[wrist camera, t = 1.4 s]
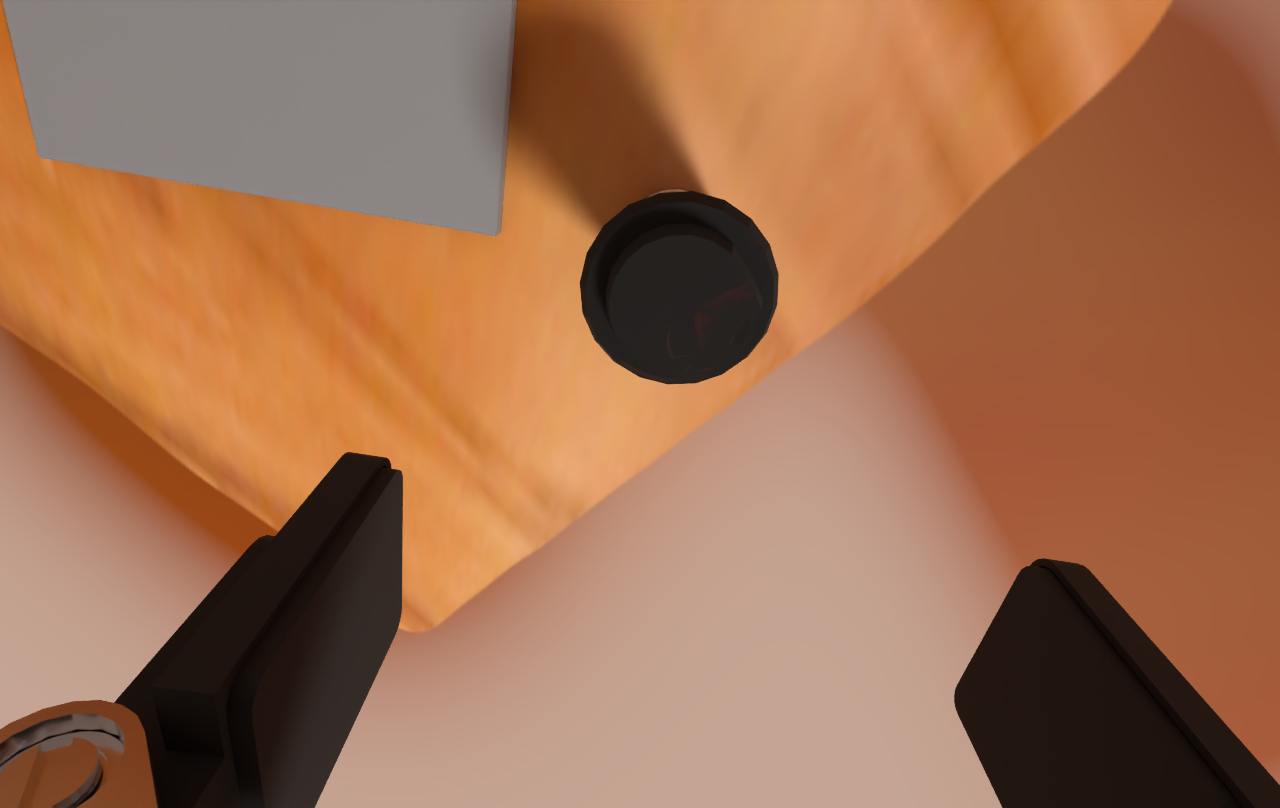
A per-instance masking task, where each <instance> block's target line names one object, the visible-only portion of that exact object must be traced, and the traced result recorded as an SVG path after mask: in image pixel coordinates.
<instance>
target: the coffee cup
mask: <svg viewBox="0 0 1280 808" xmlns="http://www.w3.org/2000/svg"><path fill="white" fill-rule="evenodd" d="M778 275H779V274H778V271H777V267H776V264H775V261H774V257H773V254H772V250H771V247H770V244H769V243H768V241H767V240H766V239H765V237H764V236H763V234H762V233H761V232H760V230H759V229H758V227H757V226H756V225H755V223H754V222H753V220H752V219H751V218H749V217H748V216H747V215H745V214H744V213H742V212H741V211H739V210H738V209H737V208H735V207H734V206H732V205H731V204H730V203H728V202H727V201H725V200H722V199H719V198H715V197H712V196H708V195H705V194H701V193H698V192H694V191H685V190H682V189H670V190H662V191H660V192H657V193H655V194H652V195H650V196H648V197H647V198H645V199H643V200H640V201H637V202H635V203H632V204H630V205H628V206H627V207H626V208H624V209H623V210H622V211H621V212H620V213H618V214H617V215H616V216H615V217H614V218H612V219H611V220H610V221H609V222H608V223H606V224H605V225H604V226H603V228H602V229H601V231H600V233H599V234H598V236H597V237H596V239H595V241H594V242H593V244H592V246H591V247H590V249H589V250H588V252H587V255H586V259H585V263H584V268H583V272H582V276H581V280H580V289H581V300H582V311H583V315H584V317H585V319H586V321H587V324H588V326H589V328H590V331H591V333H592V335H593V337H594V340H595V341H596V342H597V343H598V344H599V345H600V346H601V348H602V349H603V350H604V351H605V352H606V353H607V354H608V355H609V357H610V358H611V359H612V360H613V361H614V362H616V363H617V364H619V365H621V366H622V367H624V368H626V369H627V370H629V371H630V372H632V373H634V374H635V375H637V376H639V377H641V378H645V379H649V380H653V381H657V382H661V383H665V384H687V383H698V382H701V381H704V380H707V379H710V378H713V377H716V376H719V375H722V374H723V373H725V372H726V371H728V370H729V369H731V368H732V367H733V366H735V365H736V364H738V363H739V362H741V361H742V360H743V359H745V358H746V357H748V356H749V354H750V353H751V352H752V351H753V349H754V348H755V347H756V346H757V344H758V343H759V342H760V340H761V339H762V338H763V337H764V335H765V334H766V333H767V330H768V328H769V325H770V322H771V320H772V317H773V314H774V312H775V309H776V307H777V298H778Z"/></svg>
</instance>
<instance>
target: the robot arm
mask: <svg viewBox="0 0 1280 808" xmlns="http://www.w3.org/2000/svg"><path fill="white" fill-rule="evenodd" d="M402 522H403V475H402V472H401V471H400V470H396V469H391V463H390V460H389V459H388V458H384V457H378V456H371V455H365V454H358V453H352V452H348V453H345V454H344V455H343V456H342V457H341V458H340V459H339V460H338V461H337V463H336V464H335V465H334V466H333V467H332V469H331V470H330V471H329V472H328V473H327V475H326V476H325V477H324V478H323V480H322V481H321V482H320V483H319V484H318V486H317V487H316V488H315V489H314V490H313V492H312V493H311V494H310V495H309V496H308V498H307V499H306V500H305V501H304V502H303V504H302V505H301V506H300V507H299V508H298V510H297V511H296V512H295V513H294V514H293V516H292V517H291V518H290V519H289V520H288V522H287V523H286V524H285V525H284V526H283V528H282V529H281V530H280V531H279V532H278V534H277V535H276V536H269V535H266V536H263V537H260V538H258V539H257V540H256V541H255V542H254V543H253V544H252V545H251V546H250V547H249V548H248V549H247V550H246V551H245V552H244V554H243V555H242V556H241V557H240V558H239V559H238V561H237V562H236V563H235V564H234V565H233V566H232V567H231V569H230V570H229V571H228V572H227V573H226V574H225V576H224V577H223V578H222V579H221V580H220V581H219V582H218V584H217V585H216V586H215V587H214V588H213V589H212V590H211V592H210V593H209V594H208V595H207V596H206V597H205V599H204V600H203V601H202V602H201V603H200V604H199V605H198V607H197V608H196V609H195V610H194V611H193V612H192V613H191V615H190V616H189V617H188V618H187V619H186V620H185V622H184V623H183V624H182V625H181V626H180V627H179V628H178V630H177V631H176V632H175V633H174V634H173V635H172V637H171V638H170V639H169V640H168V641H167V642H166V643H165V645H164V646H163V647H162V648H161V649H160V650H159V651H158V653H157V654H156V655H155V656H154V657H153V659H152V660H151V661H150V662H149V663H148V664H147V665H146V667H145V668H144V669H143V670H142V671H141V672H140V674H139V675H138V676H137V677H136V678H135V679H134V680H133V682H132V683H131V684H130V685H129V686H128V687H127V688H126V690H125V691H124V692H123V693H122V694H121V695H120V696H119V698H118V699H117V700H116V701H115V702H114V703H111V702H107V701H102V700H92V701H74V702H69V703H65V704H61V705H57V706H53V707H50V708H45V709H42V710H40V711H37V712H35V713H32V714H30V715H28V716H26V717H23V718H21V719H19V720H16V721H14V722H12V723H10V724H8V725H6V726H5V727H3V728H2V729H1V730H0V808H315V805H316V804H317V801H318V799H319V797H320V795H321V793H322V791H323V789H324V787H325V784H326V782H327V780H328V778H329V776H330V774H331V771H332V769H333V767H334V765H335V763H336V761H337V759H338V757H339V754H340V752H341V750H342V748H343V746H344V744H345V742H346V739H347V737H348V735H349V733H350V731H351V729H352V727H353V724H354V722H355V720H356V718H357V716H358V714H359V712H360V709H361V707H362V705H363V703H364V701H365V699H366V697H367V695H368V692H369V690H370V688H371V686H372V684H373V682H374V680H375V677H376V675H377V673H378V671H379V669H380V667H381V665H382V663H383V660H384V658H385V656H386V654H387V652H388V650H389V648H390V645H391V643H392V641H393V639H394V637H395V635H396V632H397V629H398V626H399V622H400V618H401V611H402ZM954 699H955V700H954V702H955V707H956V710H957V713H958V716H959V718H960V720H961V722H962V724H963V726H964V728H965V730H966V732H967V734H968V736H969V738H970V741H971V743H972V745H973V747H974V749H975V751H976V753H977V755H978V757H979V760H980V761H981V764H982V765H983V768H984V770H985V772H986V774H987V776H988V778H989V780H990V783H991V785H992V787H993V789H994V791H995V793H996V795H997V797H998V799H999V801H1000V803H1001V806H1002V808H1280V785H1279V784H1278V783H1277V782H1276V781H1275V779H1274V778H1273V777H1272V776H1271V775H1270V774H1269V773H1268V772H1267V770H1266V769H1265V768H1264V767H1263V766H1262V765H1261V764H1260V762H1259V761H1258V760H1257V759H1256V758H1255V757H1254V756H1253V755H1252V753H1251V752H1250V751H1249V750H1248V749H1247V748H1246V747H1245V746H1244V744H1243V743H1242V742H1241V741H1240V740H1239V739H1238V738H1237V737H1236V735H1235V734H1234V733H1233V732H1232V731H1231V730H1230V729H1229V728H1228V727H1227V725H1226V724H1225V723H1224V722H1223V721H1222V720H1221V718H1220V717H1219V716H1218V715H1217V714H1216V713H1215V712H1214V711H1213V709H1212V708H1211V707H1210V706H1209V705H1208V704H1207V703H1206V702H1205V700H1203V698H1202V697H1201V696H1200V695H1199V694H1198V692H1197V691H1196V690H1195V689H1194V688H1193V687H1192V686H1191V685H1190V683H1189V682H1188V681H1187V680H1186V679H1185V678H1184V677H1183V676H1182V674H1181V673H1180V672H1179V671H1178V670H1177V669H1176V668H1175V667H1174V666H1173V664H1172V663H1171V662H1170V661H1169V660H1168V659H1167V657H1166V656H1165V655H1164V654H1163V653H1162V652H1161V651H1160V650H1159V648H1158V647H1157V646H1156V645H1155V644H1154V643H1153V642H1152V641H1151V640H1150V638H1149V637H1148V636H1147V635H1146V634H1145V633H1144V631H1143V630H1142V629H1141V628H1140V627H1139V626H1138V625H1137V624H1136V622H1135V621H1134V620H1133V619H1132V618H1131V617H1130V616H1129V615H1128V613H1127V612H1126V611H1125V610H1124V609H1123V608H1122V607H1121V605H1120V604H1119V603H1118V602H1117V601H1116V600H1115V599H1114V598H1113V596H1112V595H1111V594H1110V593H1109V592H1108V591H1107V590H1106V589H1105V587H1104V586H1103V585H1102V584H1101V583H1100V582H1099V581H1098V579H1097V578H1096V577H1095V576H1094V575H1093V574H1092V573H1091V572H1090V570H1088V569H1087V568H1086V567H1085V566H1083V565H1080V564H1077V563H1070V562H1064V561H1057V560H1050V559H1038V560H1036V561H1034V562H1033V563H1032V564H1031V565H1030V566H1027V567H1025V568H1023V569H1022V570H1021V571H1020V572H1019V574H1018V576H1017V578H1016V580H1015V581H1014V583H1013V585H1012V587H1011V588H1010V590H1009V592H1008V594H1007V596H1006V597H1005V599H1004V601H1003V603H1002V605H1001V607H1000V608H999V610H998V612H997V614H996V616H995V617H994V619H993V621H992V623H991V625H990V627H989V628H988V630H987V632H986V634H985V636H984V637H983V639H982V641H981V643H980V645H979V646H978V648H977V650H976V652H975V654H974V655H973V657H972V659H971V661H970V663H969V664H968V666H967V668H966V670H965V672H964V674H963V675H962V677H961V679H960V681H959V683H958V684H957V687H956V689H955V695H954Z"/></svg>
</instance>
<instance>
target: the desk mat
mask: <svg viewBox="0 0 1280 808" xmlns="http://www.w3.org/2000/svg"><path fill="white" fill-rule="evenodd" d="M2 2H3V6H4V10H5V15H6V19H7V23H8V28H9V32H10V36H11V40H12V45H13V49H14V53H15V57H16V62H17V66H18V70H19V75H20V79H21V83H22V87H23V92H24V96H25V100H26V105H27V109H28V113H29V117H30V122H31V126H32V130H33V135H34V139H35V143H36V147H37V152H38V156H39V158H44V159H50V160H56V161H62V162H67V163H73V164H79V165H85V166H91V167H96V168H102V169H108V170H114V171H120V172H125V173H131V174H137V175H143V176H149V177H154V178H160V179H166V180H172V181H178V182H183V183H189V184H195V185H201V186H207V187H212V188H218V189H224V190H230V191H236V192H241V193H247V194H253V195H259V196H265V197H270V198H276V199H282V200H288V201H294V202H299V203H305V204H311V205H317V206H323V207H328V208H334V209H340V210H346V211H352V212H357V213H363V214H369V215H375V216H381V217H386V218H392V219H398V220H404V221H410V222H415V223H421V224H427V225H433V226H439V227H444V228H450V229H456V230H462V231H468V232H473V233H479V234H485V235H491V236H497V235H498V234H499V233H500V232H501V222H502V208H503V194H504V180H505V166H506V152H507V137H508V123H509V109H510V95H511V81H512V67H513V53H514V39H515V24H516V10H517V0H2Z"/></svg>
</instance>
